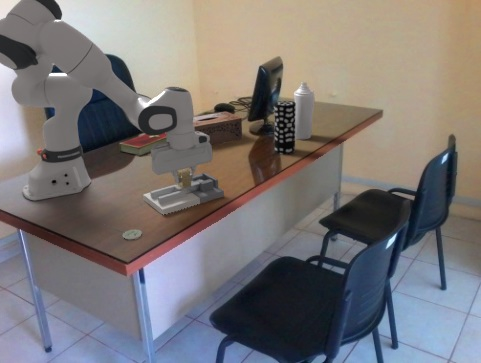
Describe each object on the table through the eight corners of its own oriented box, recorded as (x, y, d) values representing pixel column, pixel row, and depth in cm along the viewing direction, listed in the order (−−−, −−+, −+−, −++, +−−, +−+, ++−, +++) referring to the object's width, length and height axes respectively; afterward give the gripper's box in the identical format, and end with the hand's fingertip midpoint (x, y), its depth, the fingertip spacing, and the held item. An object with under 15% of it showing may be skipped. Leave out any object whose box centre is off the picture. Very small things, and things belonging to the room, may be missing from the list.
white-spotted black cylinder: (297, 149, 193) (298, 101, 185) (291, 155, 186) (291, 106, 178) (278, 147, 196) (278, 100, 188) (271, 153, 189) (271, 104, 182)
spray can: (320, 137, 207) (322, 80, 198) (305, 143, 200) (307, 84, 190) (299, 132, 215) (300, 77, 205) (284, 137, 208) (285, 81, 198)
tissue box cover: (226, 132, 219) (225, 111, 216) (242, 139, 208) (241, 118, 204) (176, 142, 208) (174, 120, 204) (189, 150, 196) (187, 127, 192)
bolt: (179, 195, 148) (177, 175, 145) (174, 191, 151) (172, 171, 148) (206, 187, 153) (204, 167, 151) (200, 184, 156) (199, 164, 153)
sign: (110, 219, 138) (145, 232, 130) (110, 222, 139) (145, 235, 130) (95, 226, 134) (131, 240, 126) (96, 229, 135) (131, 243, 127)
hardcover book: (120, 152, 198) (118, 142, 196) (154, 138, 214) (153, 130, 212) (140, 156, 192) (139, 147, 190) (174, 142, 207) (173, 133, 206)
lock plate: (163, 215, 141) (161, 200, 139) (143, 200, 151) (141, 185, 149) (223, 196, 152) (223, 182, 150) (201, 183, 163) (200, 169, 161)
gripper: (154, 148, 136) (159, 192, 142) (214, 135, 147) (216, 176, 152) (145, 143, 141) (150, 185, 146) (203, 131, 152) (206, 170, 157)
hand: (184, 180), depth 149 cm, fingers closed on bolt, 3 cm apart
